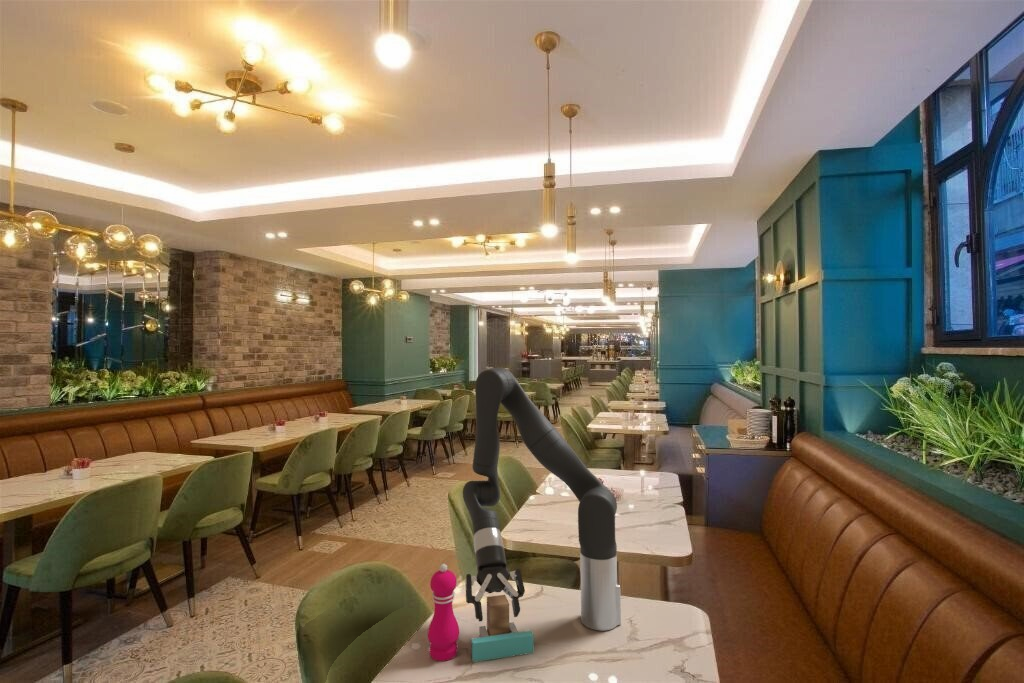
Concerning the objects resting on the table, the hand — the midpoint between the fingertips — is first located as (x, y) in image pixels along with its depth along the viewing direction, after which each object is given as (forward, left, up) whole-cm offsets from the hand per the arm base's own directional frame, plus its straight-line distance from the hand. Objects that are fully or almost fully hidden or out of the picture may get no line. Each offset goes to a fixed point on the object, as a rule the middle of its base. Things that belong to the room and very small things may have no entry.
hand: (498, 618), depth 116 cm
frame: (0, 0, -6) cm, 6 cm away
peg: (0, -1, -6) cm, 6 cm away
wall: (0, +4, -6) cm, 7 cm away
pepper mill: (+13, 0, -6) cm, 14 cm away
